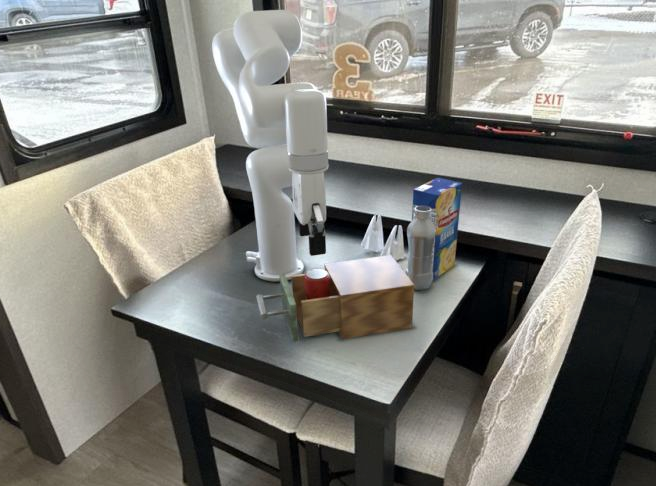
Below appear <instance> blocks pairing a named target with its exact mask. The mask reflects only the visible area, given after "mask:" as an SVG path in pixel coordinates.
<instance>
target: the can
mask: <svg viewBox="0 0 656 486" xmlns="http://www.w3.org/2000/svg"><path fill="white" fill-rule="evenodd" d="M304 274H305V275H304V277H305V295H306V300H310V299H317V298H324V297H330V277H329V273H328V272H327V271H325V269H322V268H313V269H310V270H308V271H306V272H305V273H304Z"/></svg>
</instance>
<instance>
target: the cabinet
mask: <svg viewBox="0 0 656 486" xmlns="http://www.w3.org/2000/svg"><path fill="white" fill-rule="evenodd" d="M323 267H324V269H323V270H325V271H327V272H328V273H329V277H330V279H331V281H332V283H333V284H334V286H335V288H336V290H337V292H338V294H339V296H340V322H341V331H338V334H339V336H340V338H341V340H346V339H352V338H358V337H364V336H370V335H377V334H383V333H389V332H396V331H401V330H407V329H408V330H409V329H412V328H413V316H414V297H415V289H414V284H413V282H412V281H411V280H410V278H409V277H408V276H407V275H406V271H404V269H403V268H402V267H401V266H400V264H399V263H398V262H397V261H395V259H394V258H393V257H392V255H387V256H381V255H380V256H374V257H373V256H371V257H365V258H358V259H351V260H341V261H336V262H327V263H323Z"/></svg>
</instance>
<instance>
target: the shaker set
mask: <svg viewBox="0 0 656 486" xmlns="http://www.w3.org/2000/svg"><path fill="white" fill-rule="evenodd" d="M382 222H383V221H382V215H380V214H378V215H376V214H374V215H373V217H372V218H371V221H370V223H369V225H368V227H367V229H366V232H365V234H364V236H363V239H362V241H361V244H360V246H361V248H363V249H365V250H368V251H372V252H375V253H378V252H380V251H381V250H382V251H381V254H380V256H387V255H392V257H393V258H394V259H395V261H396V262H397V261H399V260H404V259H405V247H404V246H405V245H404V244H405V243H404V233H403V227H402V225H401V224H400V225H394V226H393V228H392V230H391V232H390V234H389V236H388V238H387V240H386V243H384V231H383V223H382ZM397 228H398V229H397ZM396 233H397V234H396Z"/></svg>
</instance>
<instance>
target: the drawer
mask: <svg viewBox="0 0 656 486" xmlns="http://www.w3.org/2000/svg"><path fill="white" fill-rule="evenodd" d="M304 275H305V273H301V274H299V275H292V276H291V278H292V279H291V287H290V285H289V281H288V280H287V279H286V276H285V274H281V275H279V277H280V281H279V287H280V293H275V294H267V295H262V294H257V295H256V297H255V298H256V303H257V306H258V311H259V315H260V318H261V319H262V320H266V319H267V318H268V317H273V316H279V315H280V316H281V315H283V316H284V319H285V322H286V326H287V329H288V331H289V335H290V338H291V341H292V342H293V343H295V342H299V329H298V328H299V327H300V329H301V332H302V336H303V337H304V338H306V337H311V336H313V337H314V336H318V335H323V334H331V333H337V332H338V331H341V322H340V296H339V294H338V292H337V290H336V288H335V286H334V284H333V283H332V281H331V279H330V297H324V298H317V299H310V300H306V295H305V277H304ZM291 289H292V290H291ZM276 298H281V299H280V301H281V310H276V311H267V307H266V304H265V300H271V299H276ZM298 323H299V327H298ZM338 333H339V332H338Z"/></svg>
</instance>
